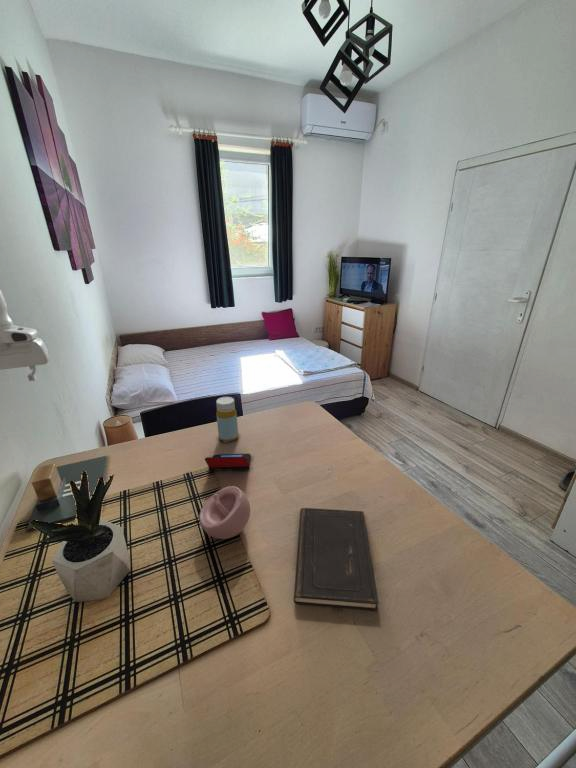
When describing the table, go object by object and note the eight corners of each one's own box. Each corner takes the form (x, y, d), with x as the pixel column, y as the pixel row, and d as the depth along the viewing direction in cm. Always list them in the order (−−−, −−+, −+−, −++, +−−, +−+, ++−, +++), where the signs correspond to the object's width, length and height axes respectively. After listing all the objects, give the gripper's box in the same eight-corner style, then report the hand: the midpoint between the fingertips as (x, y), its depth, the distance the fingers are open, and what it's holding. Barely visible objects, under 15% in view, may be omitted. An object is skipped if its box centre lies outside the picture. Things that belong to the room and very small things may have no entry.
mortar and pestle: (201, 516, 84) (196, 481, 79) (247, 507, 86) (245, 472, 82) (202, 556, 73) (196, 517, 69) (254, 544, 76) (252, 506, 71)
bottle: (224, 431, 122) (221, 395, 117) (241, 433, 120) (238, 397, 114) (215, 440, 116) (211, 403, 110) (233, 444, 114) (229, 406, 108)
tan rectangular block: (37, 511, 85) (27, 486, 82) (46, 487, 93) (37, 464, 90) (59, 505, 87) (50, 481, 84) (66, 482, 95) (58, 459, 92)
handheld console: (251, 456, 108) (250, 436, 105) (248, 477, 98) (246, 457, 95) (213, 456, 108) (211, 437, 105) (206, 478, 98) (203, 457, 95)
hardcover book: (362, 518, 83) (363, 511, 82) (377, 611, 62) (378, 603, 61) (300, 514, 84) (300, 507, 83) (293, 604, 63) (293, 596, 62)
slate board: (27, 531, 80) (26, 529, 80) (50, 470, 102) (49, 468, 101) (100, 511, 86) (100, 508, 86) (107, 457, 108) (106, 455, 107)
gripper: (-62, 343, 80) (-39, 393, 86) (37, 333, 88) (52, 380, 93) (-50, 337, 86) (-29, 385, 91) (43, 328, 93) (57, 373, 99)
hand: (13, 383), depth 92 cm, fingers open, 8 cm apart
